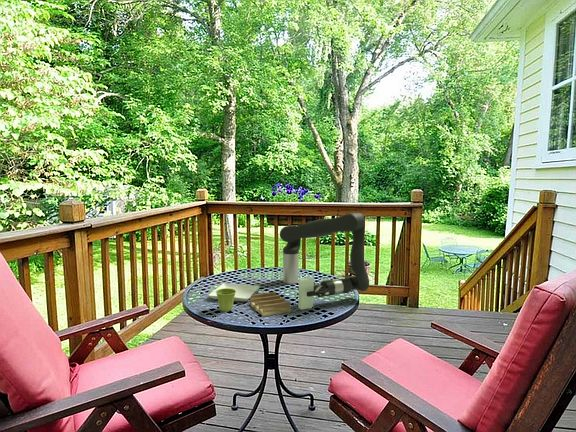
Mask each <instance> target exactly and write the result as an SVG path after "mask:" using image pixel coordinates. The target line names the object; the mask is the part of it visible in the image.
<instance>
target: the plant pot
mask: <svg viewBox="0 0 576 432" xmlns="http://www.w3.org/2000/svg"><path fill="white" fill-rule="evenodd" d="M235 293H236V290H234V289H230V288H223V289H219V290H217V291H216V294H217V296H218V299H217V302H218V303H217V304H218V308H219V309H218V310H219V311H221V312H229V311H232V310H233V307H234V302H235V301H234V296H235Z"/></svg>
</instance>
